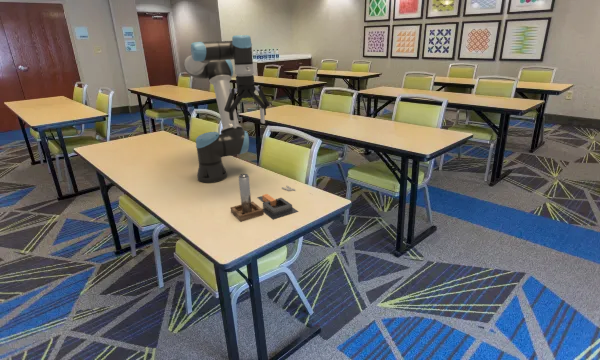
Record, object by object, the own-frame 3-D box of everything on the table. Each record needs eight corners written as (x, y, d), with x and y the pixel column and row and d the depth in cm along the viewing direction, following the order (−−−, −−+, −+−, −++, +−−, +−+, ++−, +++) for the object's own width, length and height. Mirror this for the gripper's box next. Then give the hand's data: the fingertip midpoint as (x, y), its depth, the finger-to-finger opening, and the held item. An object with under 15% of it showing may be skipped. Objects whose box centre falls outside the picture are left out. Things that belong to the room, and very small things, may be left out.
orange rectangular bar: (262, 200, 157) (262, 195, 156) (267, 198, 158) (267, 193, 157) (271, 206, 150) (270, 201, 149) (276, 205, 151) (275, 199, 151)
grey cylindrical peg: (240, 212, 146) (236, 174, 140) (249, 209, 148) (246, 172, 142) (244, 216, 143) (240, 177, 137) (253, 213, 145) (250, 175, 139)
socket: (248, 201, 158) (247, 194, 157) (272, 194, 164) (271, 188, 163) (273, 221, 140) (272, 214, 139) (298, 212, 146) (298, 206, 145)
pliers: (296, 199, 156) (276, 189, 167) (296, 202, 156) (276, 192, 167) (313, 192, 162) (292, 183, 172) (313, 195, 162) (292, 186, 173)
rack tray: (231, 213, 147) (230, 207, 146) (253, 207, 152) (252, 201, 151) (241, 223, 139) (240, 216, 138) (263, 216, 144) (263, 209, 143)
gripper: (219, 78, 139) (225, 131, 147) (275, 73, 152) (278, 122, 159) (212, 76, 145) (218, 128, 153) (267, 72, 158) (270, 119, 165)
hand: (249, 125), depth 156 cm, fingers open, 13 cm apart
